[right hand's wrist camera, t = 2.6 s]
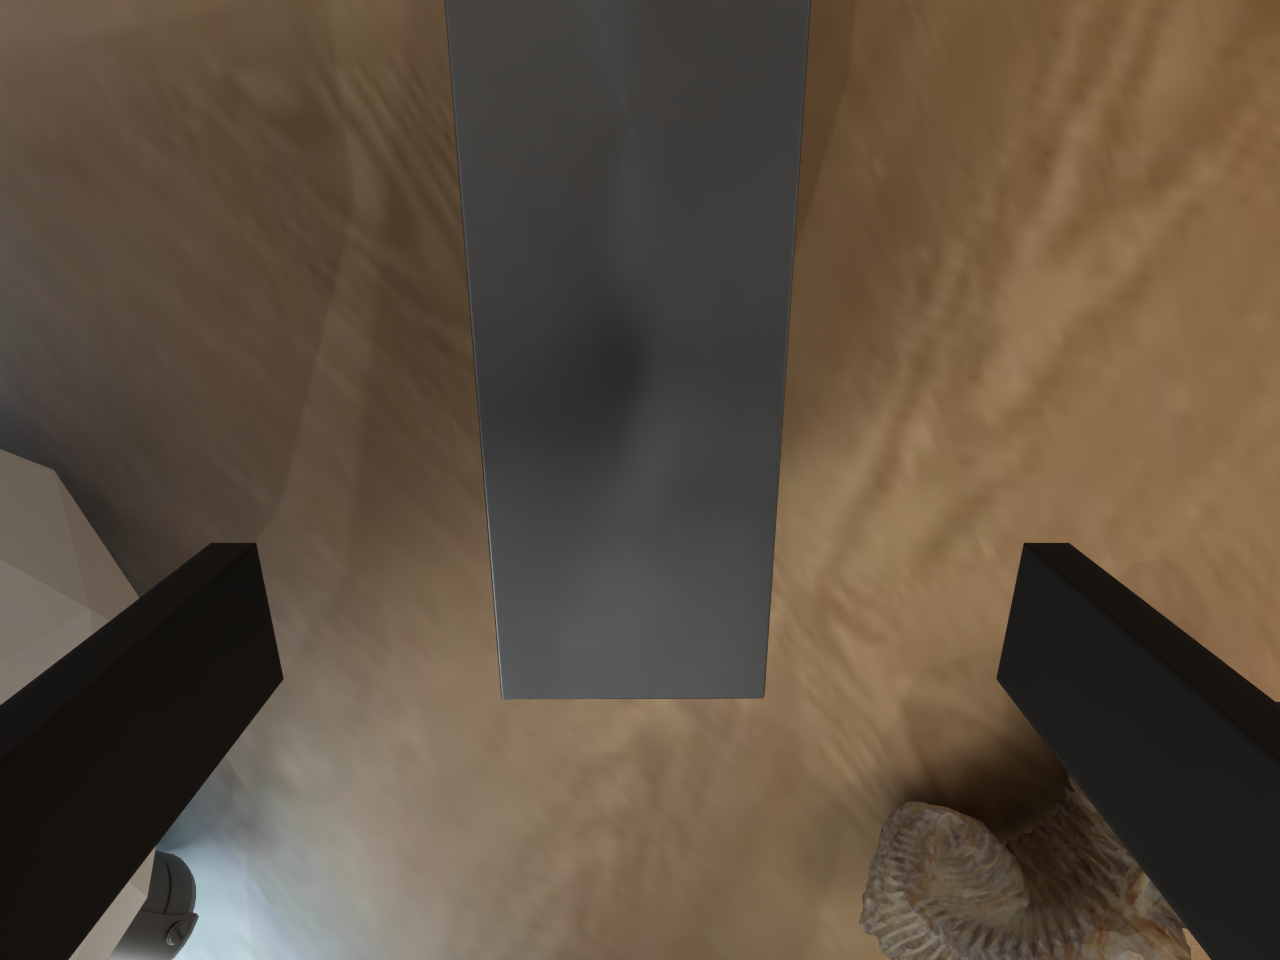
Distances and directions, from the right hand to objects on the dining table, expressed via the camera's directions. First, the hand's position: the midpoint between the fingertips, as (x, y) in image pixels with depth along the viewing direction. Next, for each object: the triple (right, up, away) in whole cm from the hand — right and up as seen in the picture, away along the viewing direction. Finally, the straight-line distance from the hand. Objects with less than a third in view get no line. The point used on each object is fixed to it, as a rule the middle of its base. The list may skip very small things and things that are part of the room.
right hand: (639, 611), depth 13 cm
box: (0, +12, +11) cm, 16 cm away
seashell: (+15, -12, +19) cm, 27 cm away
